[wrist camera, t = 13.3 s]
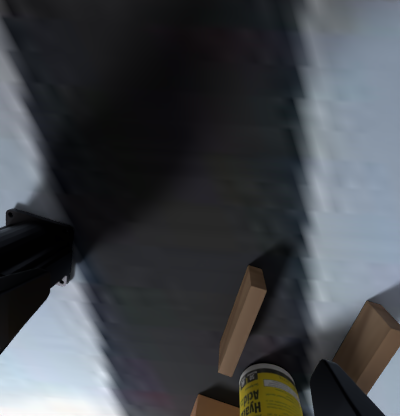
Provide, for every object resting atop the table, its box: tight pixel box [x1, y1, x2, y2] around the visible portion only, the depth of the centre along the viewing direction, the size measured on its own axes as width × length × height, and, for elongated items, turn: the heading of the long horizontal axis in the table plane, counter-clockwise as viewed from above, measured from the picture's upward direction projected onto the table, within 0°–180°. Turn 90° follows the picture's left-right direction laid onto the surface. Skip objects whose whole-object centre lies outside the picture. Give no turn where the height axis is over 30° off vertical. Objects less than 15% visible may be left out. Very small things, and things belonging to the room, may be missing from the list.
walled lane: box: [218, 265, 400, 395], centre depth 19 cm, size 11×9×3 cm
